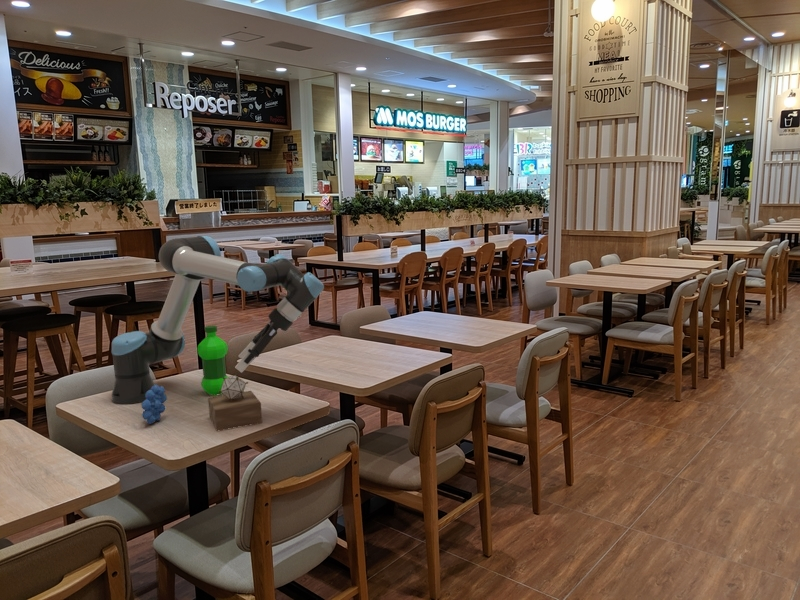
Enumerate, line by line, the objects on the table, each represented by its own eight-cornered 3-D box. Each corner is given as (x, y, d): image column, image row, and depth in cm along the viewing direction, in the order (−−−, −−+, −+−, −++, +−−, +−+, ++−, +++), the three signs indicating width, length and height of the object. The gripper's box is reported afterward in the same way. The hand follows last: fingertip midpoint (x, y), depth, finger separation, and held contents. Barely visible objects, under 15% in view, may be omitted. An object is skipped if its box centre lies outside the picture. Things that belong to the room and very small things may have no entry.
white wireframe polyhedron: (240, 410, 197) (250, 390, 192) (214, 405, 194) (223, 384, 189) (242, 390, 204) (251, 369, 199) (216, 384, 201) (225, 364, 196)
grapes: (155, 414, 205) (152, 379, 203) (173, 415, 203) (170, 380, 201) (133, 427, 193) (129, 391, 191) (151, 428, 192) (147, 391, 190)
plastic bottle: (234, 388, 230) (229, 323, 226) (224, 397, 220) (218, 329, 216) (208, 388, 231) (202, 323, 227) (197, 397, 221) (191, 330, 216)
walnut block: (209, 418, 201) (208, 397, 200) (252, 410, 207) (251, 390, 206) (216, 432, 188) (215, 410, 187) (262, 423, 194) (260, 402, 193)
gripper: (294, 330, 183) (246, 382, 183) (293, 315, 208) (251, 361, 208) (275, 314, 182) (226, 367, 182) (276, 300, 206) (234, 347, 206)
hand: (239, 364), depth 195 cm, fingers open, 13 cm apart
